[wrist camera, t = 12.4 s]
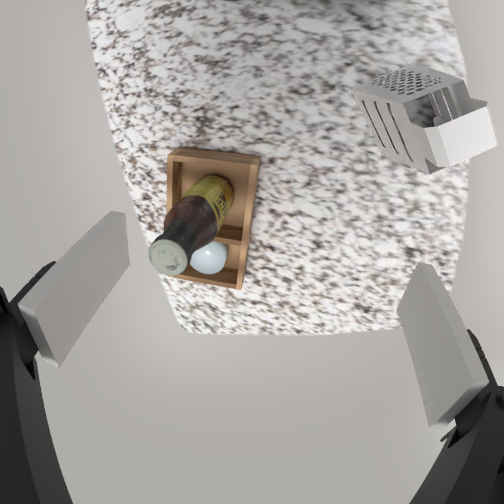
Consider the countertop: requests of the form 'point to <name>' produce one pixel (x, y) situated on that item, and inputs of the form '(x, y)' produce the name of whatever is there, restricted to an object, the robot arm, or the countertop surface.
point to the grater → (433, 138)
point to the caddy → (239, 216)
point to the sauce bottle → (191, 224)
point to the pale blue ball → (210, 258)
